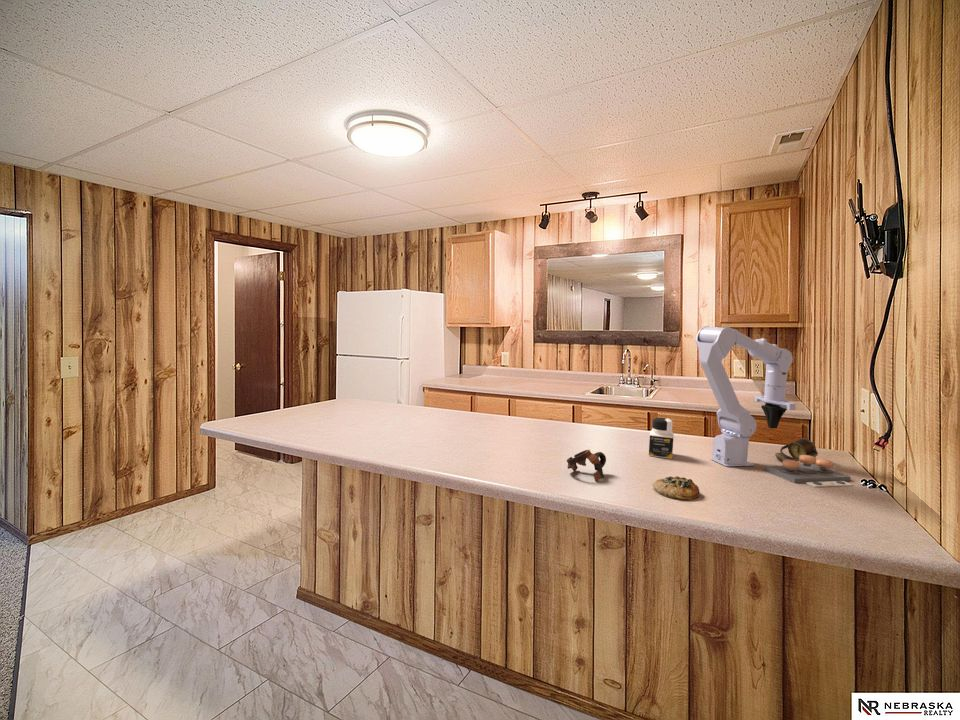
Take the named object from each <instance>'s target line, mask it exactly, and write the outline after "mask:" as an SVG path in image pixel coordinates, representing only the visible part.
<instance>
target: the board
mask: <svg viewBox="0 0 960 720" xmlns="http://www.w3.org/2000/svg"><path fill="white" fill-rule="evenodd" d="M819 468H820V467H819V466H816V465H815V464H811V466H810V467H808V466H804V465H803V464H799V469H794V471H788V470H786V468H785V467H783V466H782V465H764V471H766V472H768V473H770V474H773V475H775V476H778V477H780V478H782V479H784V480H786V481H789V482H792V483H793V484H797V483H799V484H800V483H802V484H803V483H805V482H823V481H845V482H851V480H852V479H851V478H852V477H851V476H850V475H846V474H844V473H841V472H839V471H836V470H833V469H832V468H827V470H821V469H819ZM805 484H806V483H805Z"/></svg>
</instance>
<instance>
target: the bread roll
mask: <svg viewBox="0 0 960 720" xmlns="http://www.w3.org/2000/svg"><path fill="white" fill-rule="evenodd" d="M652 487H653V492H655V493H657V494H659V495H662V496H664V497H666V498H671V499H674V498H675V499H678V500H682V501H690V500H695V499H697V498H699V496H700V489H699V486H698V485H697V484H696V483H695V482H694V481H693V480H692V478H688V479H687V478H686V477H685V476H682V477H680V476H678V475H677V476H676V475H675V476H674V477H673V476H666V477H665V478H659V479H657V480H655V481H653V483H652Z"/></svg>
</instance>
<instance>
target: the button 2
mask: <svg viewBox="0 0 960 720" xmlns="http://www.w3.org/2000/svg"><path fill="white" fill-rule="evenodd" d="M814 465H816V466H819V467H820V468H819V469H821V470H827V468H828V469H832V468H833V461H832V460H831V459H825V458H816V464H814Z"/></svg>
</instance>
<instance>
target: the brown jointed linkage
mask: <svg viewBox="0 0 960 720" xmlns="http://www.w3.org/2000/svg"><path fill="white" fill-rule="evenodd" d="M587 460H588V461H589V463H591V464H592V465H593V467H594V470H595V472H594V473H592V476H593V478H594V481H595V482H598V481H601V480H602V479H603V478H604V477H605V476H604V470H603V468H604V466H605V465H606V463H607V457H606V455H605V454H604V453H603V452H602V451H598V452H595V453H593V452H591V449H585V450H583V451H580V452H578V453H576V454H574V456H573V457H572V456H569V458H567V459H566V462H567V470H570V469H571V470H572V471H573V472H576V471H577V469H578V468H579V467H578V465H580V466H583V467H586V466H587V462H586V461H587ZM577 464H578V465H577Z"/></svg>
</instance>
